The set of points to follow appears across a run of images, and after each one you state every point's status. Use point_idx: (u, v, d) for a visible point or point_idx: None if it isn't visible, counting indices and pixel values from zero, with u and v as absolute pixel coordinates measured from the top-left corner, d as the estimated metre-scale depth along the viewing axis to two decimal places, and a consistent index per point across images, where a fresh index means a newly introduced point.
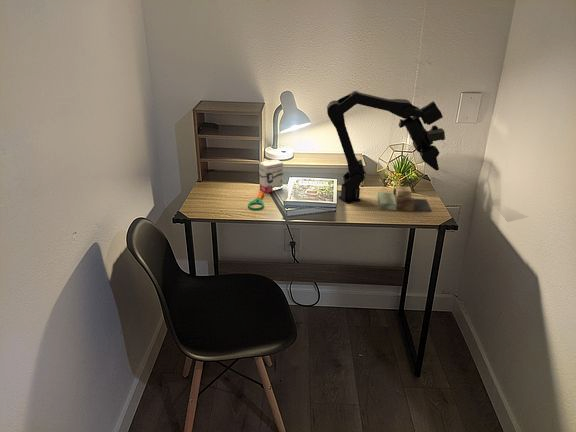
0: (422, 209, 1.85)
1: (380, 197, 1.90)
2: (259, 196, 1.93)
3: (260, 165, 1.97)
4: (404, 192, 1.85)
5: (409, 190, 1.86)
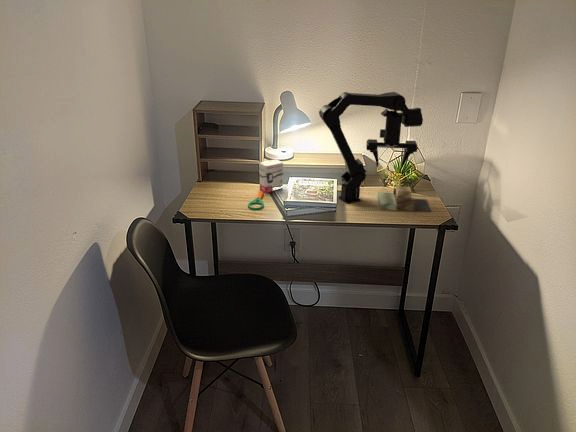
0: (422, 209, 1.85)
1: (380, 197, 1.90)
2: (259, 196, 1.93)
3: (260, 165, 1.97)
4: (404, 192, 1.85)
5: (409, 190, 1.86)
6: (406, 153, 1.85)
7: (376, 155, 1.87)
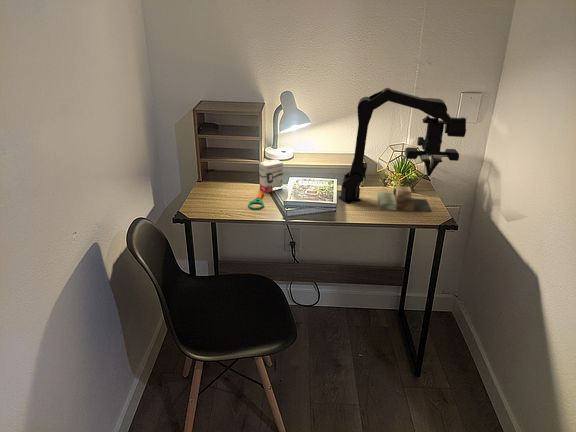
0: (422, 209, 1.85)
1: (380, 197, 1.90)
2: (259, 196, 1.93)
3: (260, 165, 1.97)
4: (404, 192, 1.85)
5: (409, 190, 1.86)
6: (435, 161, 1.79)
7: (428, 164, 1.80)
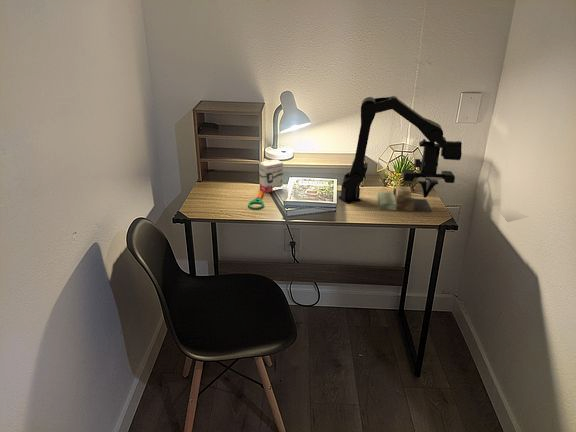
0: (422, 209, 1.85)
1: (380, 197, 1.90)
2: (259, 195, 1.93)
3: (260, 165, 1.97)
4: (404, 192, 1.85)
5: (409, 190, 1.86)
6: (431, 184, 1.83)
7: (424, 186, 1.84)
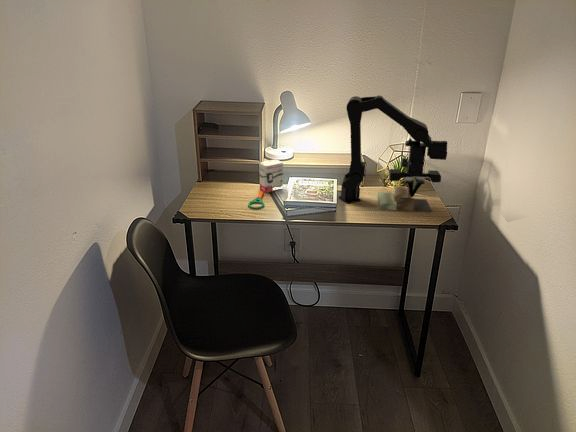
0: (422, 209, 1.85)
1: (380, 197, 1.90)
2: (259, 195, 1.93)
3: (260, 165, 1.97)
4: (401, 192, 1.85)
5: (406, 190, 1.86)
6: (417, 183, 1.83)
7: (411, 186, 1.84)
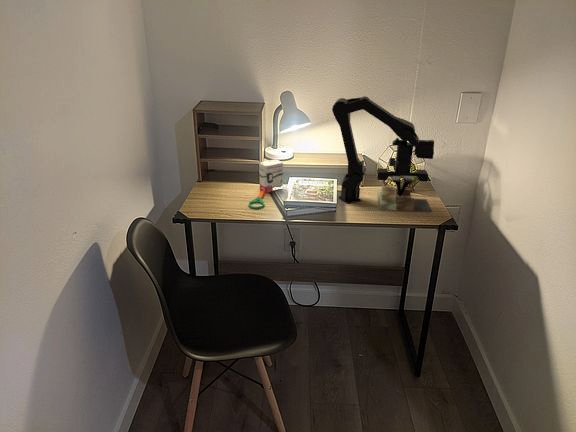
0: (422, 209, 1.85)
1: (380, 197, 1.90)
2: (260, 195, 1.93)
3: (260, 165, 1.97)
4: (389, 192, 1.86)
5: (394, 189, 1.86)
6: (405, 182, 1.83)
7: (399, 185, 1.84)
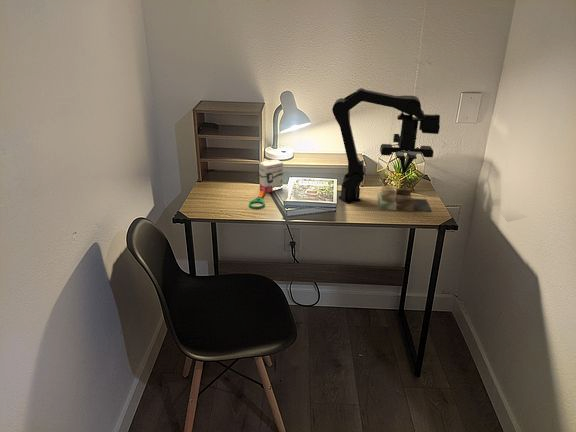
0: (422, 209, 1.85)
1: (380, 197, 1.90)
2: (260, 195, 1.94)
3: (260, 165, 1.97)
4: (389, 192, 1.86)
5: (394, 189, 1.86)
6: (409, 158, 1.80)
7: (403, 161, 1.81)
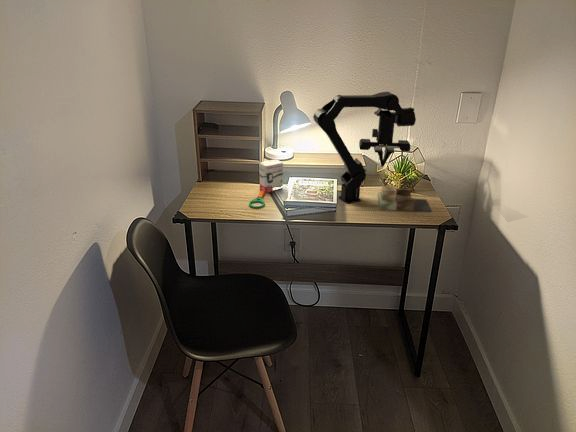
0: (422, 209, 1.85)
1: (380, 197, 1.90)
2: (260, 195, 1.94)
3: (260, 165, 1.97)
4: (389, 192, 1.86)
5: (394, 189, 1.86)
6: (387, 152, 1.85)
7: (381, 155, 1.86)
